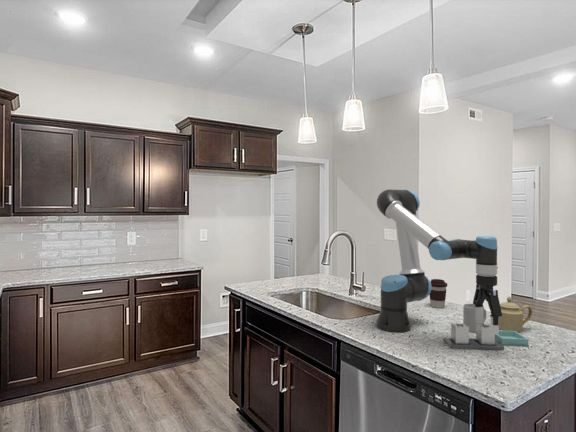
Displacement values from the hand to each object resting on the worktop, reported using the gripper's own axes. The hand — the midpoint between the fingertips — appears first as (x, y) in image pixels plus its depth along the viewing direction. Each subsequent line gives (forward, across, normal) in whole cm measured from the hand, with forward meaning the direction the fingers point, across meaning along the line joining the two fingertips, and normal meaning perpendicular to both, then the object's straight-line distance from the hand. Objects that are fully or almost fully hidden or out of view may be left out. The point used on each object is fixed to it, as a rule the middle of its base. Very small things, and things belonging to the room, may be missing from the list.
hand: (486, 327), depth 153 cm
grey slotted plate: (+7, 0, +5) cm, 9 cm away
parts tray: (+7, +6, -12) cm, 15 cm away
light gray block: (+7, 0, +10) cm, 13 cm away
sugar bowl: (+7, +24, -22) cm, 33 cm away
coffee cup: (+7, +60, 0) cm, 61 cm away
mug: (+7, +21, -5) cm, 23 cm away
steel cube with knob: (+7, 0, 0) cm, 7 cm away
